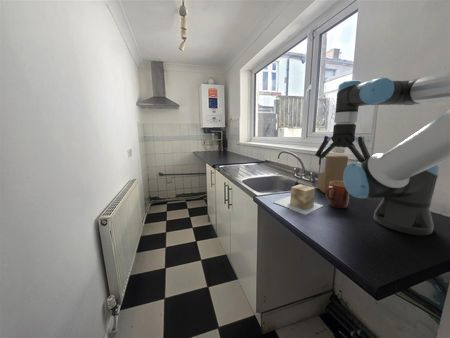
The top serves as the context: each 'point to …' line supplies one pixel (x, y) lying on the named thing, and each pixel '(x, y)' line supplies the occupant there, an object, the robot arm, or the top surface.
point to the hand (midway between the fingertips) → (338, 175)
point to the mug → (337, 194)
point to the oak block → (302, 196)
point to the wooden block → (332, 170)
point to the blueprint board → (286, 203)
